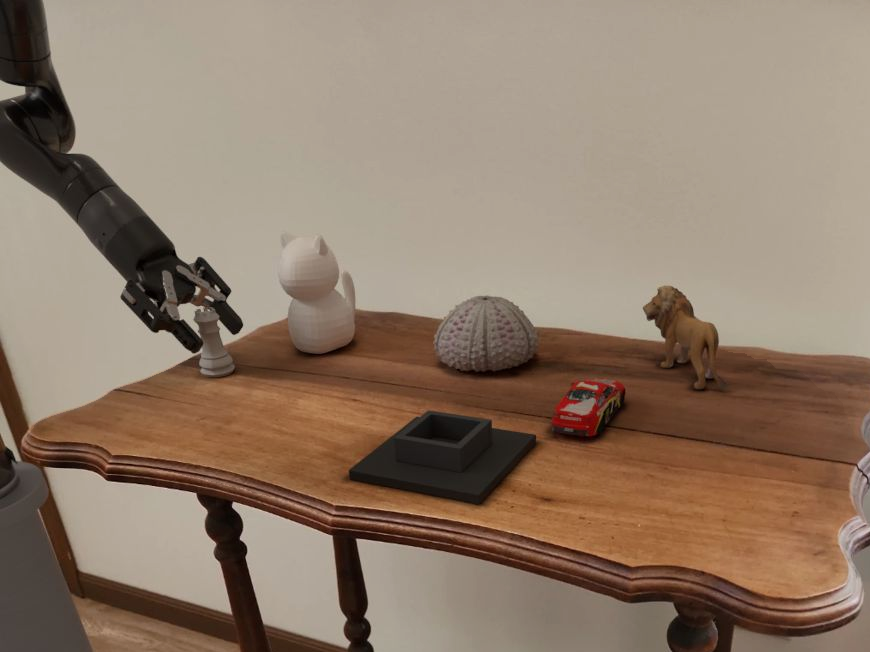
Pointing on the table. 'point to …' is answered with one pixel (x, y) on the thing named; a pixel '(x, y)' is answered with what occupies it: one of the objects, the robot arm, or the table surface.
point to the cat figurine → (316, 295)
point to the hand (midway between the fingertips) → (219, 339)
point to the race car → (588, 407)
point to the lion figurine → (684, 332)
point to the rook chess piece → (212, 345)
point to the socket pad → (445, 457)
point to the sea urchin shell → (485, 335)
